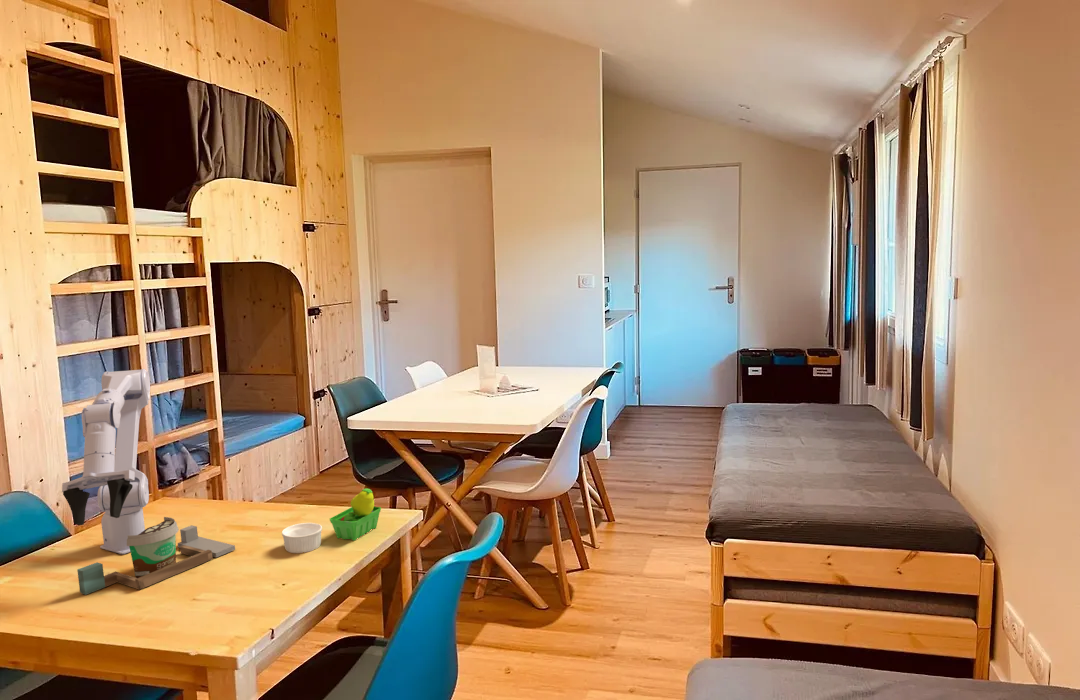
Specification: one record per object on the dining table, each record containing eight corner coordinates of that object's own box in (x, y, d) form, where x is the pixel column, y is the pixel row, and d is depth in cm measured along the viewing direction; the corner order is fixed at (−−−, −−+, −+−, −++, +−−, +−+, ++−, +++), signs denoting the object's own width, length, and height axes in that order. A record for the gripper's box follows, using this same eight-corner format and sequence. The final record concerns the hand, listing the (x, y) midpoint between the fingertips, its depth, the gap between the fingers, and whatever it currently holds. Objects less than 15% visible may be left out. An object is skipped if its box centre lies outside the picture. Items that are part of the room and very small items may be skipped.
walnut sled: (80, 592, 154) (77, 569, 153) (184, 551, 174) (182, 530, 173) (108, 602, 148) (105, 578, 148) (212, 559, 168) (210, 537, 168)
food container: (156, 583, 157) (151, 537, 156) (130, 582, 158) (125, 536, 157) (194, 559, 169) (190, 516, 168) (170, 558, 170) (165, 516, 169)
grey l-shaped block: (177, 547, 176) (176, 530, 176) (197, 539, 181) (195, 523, 180) (216, 557, 169) (214, 540, 169) (235, 549, 174) (233, 532, 173)
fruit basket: (358, 523, 188) (355, 479, 187) (388, 527, 185) (385, 482, 184) (329, 540, 178) (325, 493, 177) (360, 544, 175) (356, 497, 173)
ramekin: (329, 540, 178) (327, 522, 178) (314, 554, 170) (312, 536, 169) (293, 540, 179) (291, 522, 179) (276, 554, 170) (275, 536, 170)
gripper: (53, 459, 157) (49, 524, 152) (121, 446, 157) (119, 510, 152) (75, 467, 164) (72, 529, 159) (140, 454, 163) (139, 516, 158)
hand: (97, 520), depth 156 cm, fingers open, 7 cm apart
